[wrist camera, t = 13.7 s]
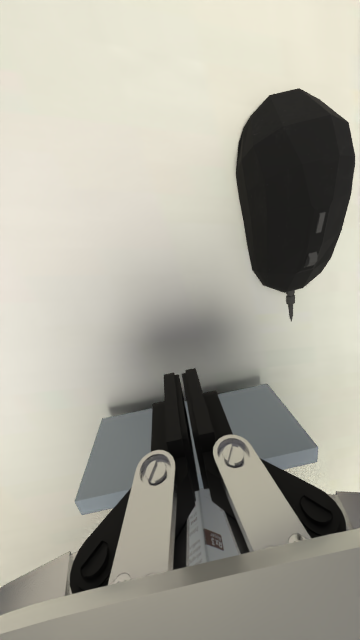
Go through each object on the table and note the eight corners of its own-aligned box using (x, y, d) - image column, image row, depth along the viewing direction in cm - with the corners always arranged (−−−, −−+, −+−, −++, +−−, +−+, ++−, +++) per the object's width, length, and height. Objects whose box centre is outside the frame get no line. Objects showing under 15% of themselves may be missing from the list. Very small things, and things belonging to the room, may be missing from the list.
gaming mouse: (253, 330, 18) (278, 352, 14) (226, 114, 13) (253, 60, 9) (324, 312, 18) (367, 329, 14) (323, 91, 13) (390, 27, 9)
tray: (273, 515, 24) (308, 599, 18) (150, 544, 23) (147, 639, 18) (267, 383, 18) (318, 447, 12) (102, 418, 17) (74, 501, 12)
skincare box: (241, 478, 20) (350, 784, 9) (210, 506, 21) (273, 817, 9) (191, 453, 18) (245, 789, 7) (160, 484, 19) (163, 828, 8)
